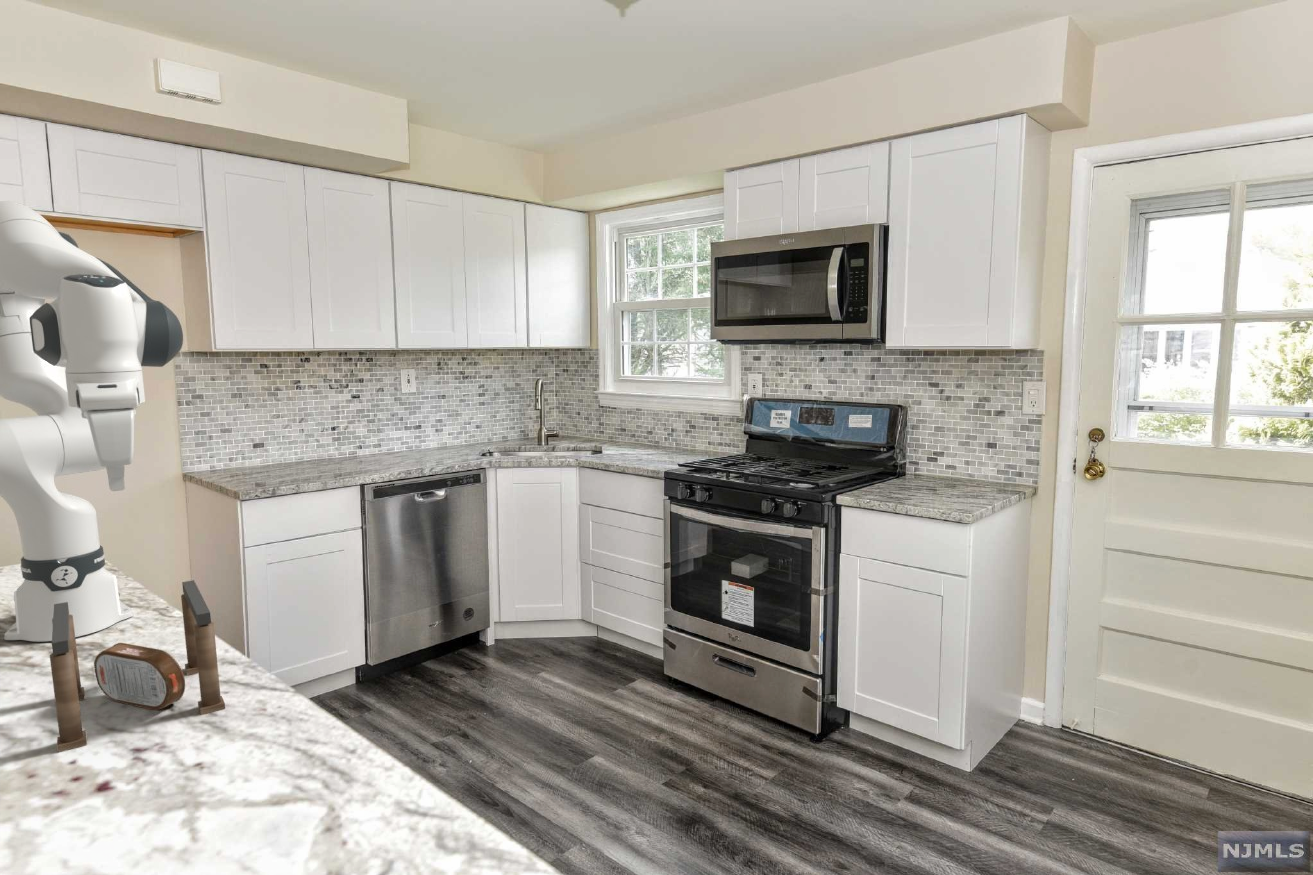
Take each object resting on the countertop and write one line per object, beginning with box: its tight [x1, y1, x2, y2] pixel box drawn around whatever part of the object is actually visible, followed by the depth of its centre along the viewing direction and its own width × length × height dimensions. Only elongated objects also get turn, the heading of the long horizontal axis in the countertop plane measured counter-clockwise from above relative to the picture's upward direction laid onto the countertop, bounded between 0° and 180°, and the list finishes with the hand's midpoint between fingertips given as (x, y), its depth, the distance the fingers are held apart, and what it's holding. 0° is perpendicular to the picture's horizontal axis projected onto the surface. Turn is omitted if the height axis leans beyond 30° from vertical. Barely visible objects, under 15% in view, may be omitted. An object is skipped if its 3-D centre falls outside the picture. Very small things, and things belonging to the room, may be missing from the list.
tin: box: [93, 642, 186, 711], centre depth 113 cm, size 15×3×8 cm, turn 71°
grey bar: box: [51, 602, 69, 655], centre depth 106 cm, size 18×2×2 cm, turn 37°
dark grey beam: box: [181, 579, 212, 626], centre depth 116 cm, size 18×2×2 cm, turn 37°
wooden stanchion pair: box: [49, 593, 226, 753], centre depth 112 cm, size 19×19×12 cm
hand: (117, 489), depth 111 cm, fingers closed
